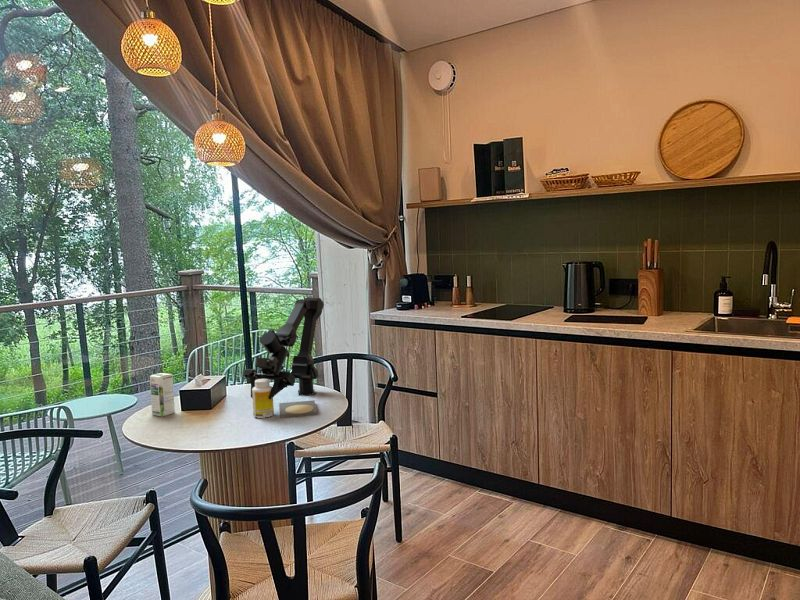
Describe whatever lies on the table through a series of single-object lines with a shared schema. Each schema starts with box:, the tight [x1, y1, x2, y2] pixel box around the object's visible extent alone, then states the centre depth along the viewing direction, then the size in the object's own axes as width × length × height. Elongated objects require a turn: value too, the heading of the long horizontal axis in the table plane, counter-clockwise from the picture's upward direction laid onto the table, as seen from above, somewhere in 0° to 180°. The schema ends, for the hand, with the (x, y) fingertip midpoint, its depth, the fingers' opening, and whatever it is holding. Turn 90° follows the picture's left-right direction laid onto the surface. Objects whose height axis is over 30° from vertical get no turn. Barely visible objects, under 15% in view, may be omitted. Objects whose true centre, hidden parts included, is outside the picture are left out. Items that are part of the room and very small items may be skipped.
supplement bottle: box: [252, 379, 275, 419], centre depth 205 cm, size 7×7×13 cm
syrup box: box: [149, 372, 176, 417], centre depth 210 cm, size 6×6×14 cm
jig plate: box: [278, 400, 318, 418], centre depth 210 cm, size 16×13×2 cm
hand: (260, 398), depth 203 cm, fingers closed on supplement bottle, 7 cm apart
